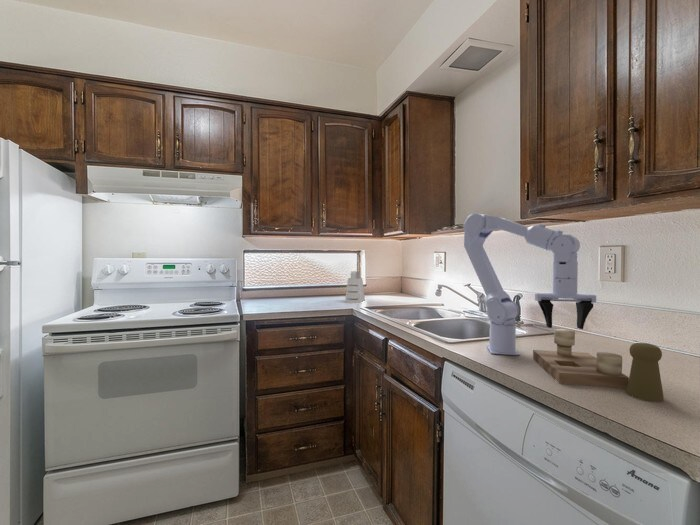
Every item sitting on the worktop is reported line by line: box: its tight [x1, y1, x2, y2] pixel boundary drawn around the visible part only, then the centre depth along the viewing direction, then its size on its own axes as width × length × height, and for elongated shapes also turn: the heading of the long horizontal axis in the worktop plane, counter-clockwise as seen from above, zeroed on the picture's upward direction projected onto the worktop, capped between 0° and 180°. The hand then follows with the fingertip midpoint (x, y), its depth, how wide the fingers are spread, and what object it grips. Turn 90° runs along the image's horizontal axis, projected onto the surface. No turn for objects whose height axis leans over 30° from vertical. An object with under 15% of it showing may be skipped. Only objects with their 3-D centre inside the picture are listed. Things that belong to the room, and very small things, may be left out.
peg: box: [553, 328, 576, 356], centre depth 95 cm, size 5×5×6 cm
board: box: [532, 349, 629, 389], centre depth 88 cm, size 20×14×6 cm
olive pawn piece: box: [626, 342, 665, 403], centre depth 73 cm, size 6×6×11 cm
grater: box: [344, 270, 366, 304], centre depth 223 cm, size 10×10×20 cm
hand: (564, 327), depth 95 cm, fingers open, 7 cm apart
